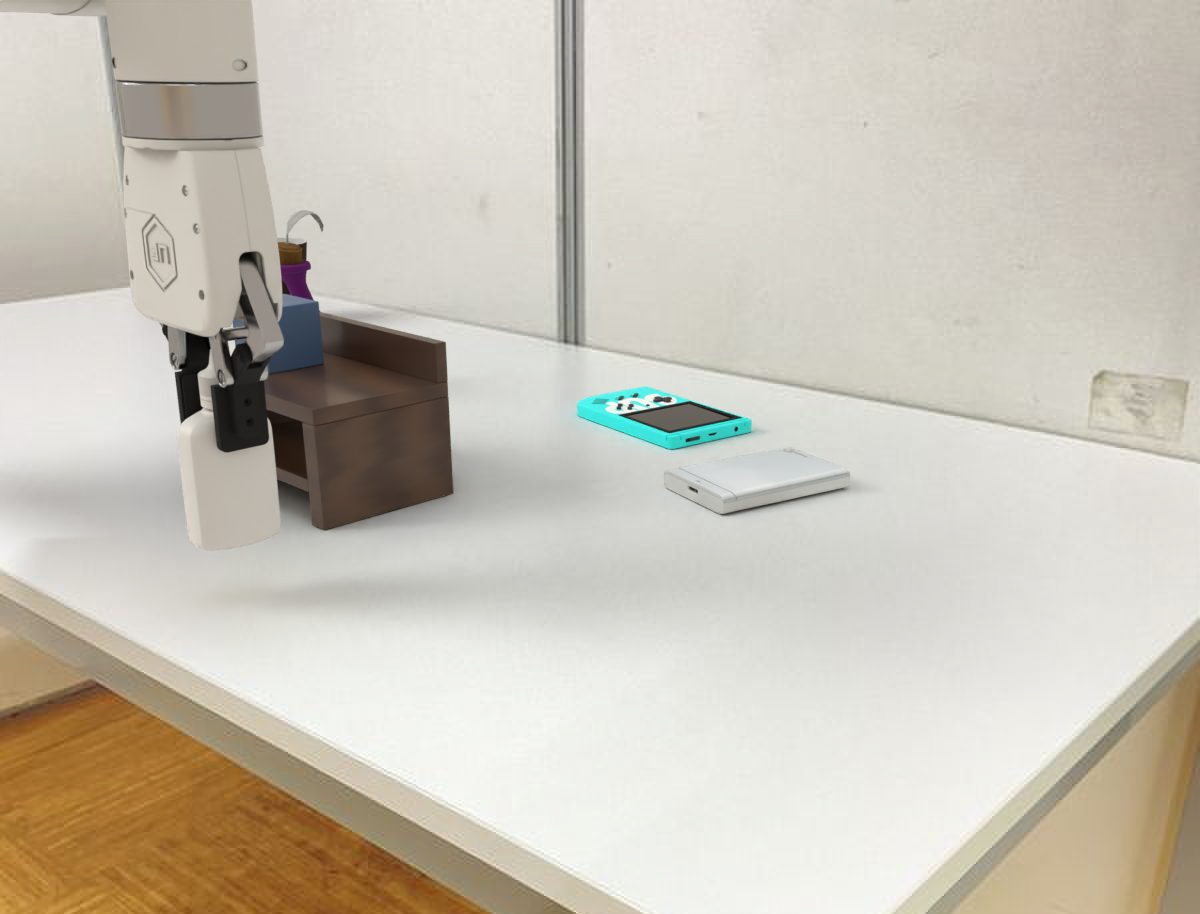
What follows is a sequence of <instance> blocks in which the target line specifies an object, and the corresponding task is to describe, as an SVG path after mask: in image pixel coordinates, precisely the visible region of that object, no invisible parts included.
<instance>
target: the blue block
mask: <svg viewBox="0 0 1200 914" xmlns="http://www.w3.org/2000/svg"><path fill="white" fill-rule="evenodd" d="M319 310H320V303H319V301H317V300H309V299H305V298H301V297H296V296H292V295H287V294H282V316H281V319H280V320H279V322H278V324H279V326H280V329H281V332H282V334H283V338H284V344H283V346H282V348H280V349H279V350H278V351H277V352H276V353H275V354H274V355H272V356H271V358H270V361H269V362H268V364H267V368H268V374H273V373H279V372H284V371H289V370H295V369H300V368H305V367H311V366H316V365H322V364H324V357H323V346H322V335H321V324H320V312H321V311H320V312H319ZM243 326H245V325H244V322H243V321H239V320H236V319H234V320H233V322H232V328H236V327H243ZM244 342H245V339H239V340H234V348H235V347H236V345H237V344H242V343H244Z"/></svg>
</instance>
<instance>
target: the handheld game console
mask: <svg viewBox="0 0 1200 914" xmlns="http://www.w3.org/2000/svg"><path fill="white" fill-rule="evenodd" d="M576 408H577V409H576V411H577V413H576V414H577V416H579V417H580V418H582V419H586V420H588V421H591V422H593V423H597V424H599V425H602V426H605V427H607V428H610V429H613V430H616V431H619V432H621V433H624V434H626V435H629V436H632V437H634V438H637V439H640V440H642V441H646V442H649V443H651V444H654V445H657V446H659V447H662V448H665V449H668V450H676V449H681V448H686V447H689V446H694V445H698V444H704V443H707V442H712V441H717V440H722V439H727V438H731V437H734V436H739V435H744V434H749V433H751V432H752V425H753V422H752V421H753V420H752V418H750V417H749V418H748V417H745V416H742V415H739V414H736V413H733V412H730V411H726V410H724V409H719V408H717V407H713V406H710V405H707V404H704V403H701V402H697V401H695V400H691V399H689V398H684V397H682V396H679V395H675V394H672V393H669V392H666V391H662V390H659V389H656V388H653V387H649V386H640V387H639V386H638V387H633V388H629V389H623V390H618V391H612V392H608V393H607V392H606V393H602V394H601V393H600V394H596V395H592V396H588V397H585V398H582V399H580V400H578V401H577V403H576Z"/></svg>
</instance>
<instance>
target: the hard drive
mask: <svg viewBox="0 0 1200 914" xmlns="http://www.w3.org/2000/svg"><path fill="white" fill-rule="evenodd" d="M662 482H663V483H662V484H663V486H664V487H665V488H666V489H667V490H670V491H672V492H674V493H676V494H677V495H679V496H682V497H683V498H686V499H688V500H690V501H692V502H694V503H697V504H698V505H701V507H705V508H706V509H708V510H710V511H713V512H714V513H716V514H719V515H724V514H729V513H735V512H737V511H742V510H748V509H751V508H752V509H753V508H756V507H761V506H765V505H771V504H775V503H779V502H785V501H789V500H793V499H797V498H802V497H807V496H812V495H817V494H821V493H824V492H825V493H826V492H831V491H835V490H839V489H843V488H848V487H850V485H851V483H850V482H851V472H850V470H849V469H847V468H846V467H843V466H841V465H839V464H836V463H833V462H830V461H828V460H825V459H823V458H820V457H817V456H814V455H811V454H810V453H806V452H804V451H801V450H798V449H796V448H793V447H790V446H785V447H780V448H776V449H770V450H766V451H765V450H764V451H759V452H753V453H749V454H744V455H739V456H733V457H727V458H722V459H718V460H712V461H707V462H702V463H701V462H700V463H696V464H691V465H686V466H680V467H677V468H671V469H666V470H664V471H663V481H662Z"/></svg>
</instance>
